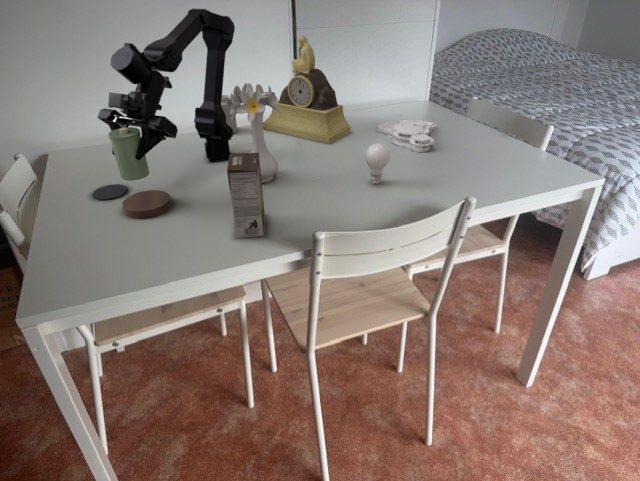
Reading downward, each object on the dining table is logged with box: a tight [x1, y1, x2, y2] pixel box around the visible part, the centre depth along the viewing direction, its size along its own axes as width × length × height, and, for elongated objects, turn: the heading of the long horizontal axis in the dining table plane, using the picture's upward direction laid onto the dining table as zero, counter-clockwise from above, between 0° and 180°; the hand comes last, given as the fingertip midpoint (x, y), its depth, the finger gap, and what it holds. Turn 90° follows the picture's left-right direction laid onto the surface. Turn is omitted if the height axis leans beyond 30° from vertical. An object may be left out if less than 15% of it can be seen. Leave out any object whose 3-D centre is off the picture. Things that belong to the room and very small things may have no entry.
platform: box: [122, 189, 172, 219], centre depth 110 cm, size 11×11×2 cm
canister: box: [107, 126, 150, 182], centre depth 103 cm, size 7×7×11 cm
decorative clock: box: [263, 34, 351, 145], centre depth 148 cm, size 28×13×30 cm, turn 55°
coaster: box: [92, 184, 128, 201], centre depth 117 cm, size 8×8×1 cm
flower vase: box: [227, 82, 282, 184], centre depth 117 cm, size 13×18×25 cm
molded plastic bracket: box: [375, 119, 437, 153], centre depth 149 cm, size 23×25×4 cm
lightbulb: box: [364, 142, 391, 185], centre depth 117 cm, size 6×6×11 cm
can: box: [221, 94, 238, 134], centre depth 153 cm, size 8×8×12 cm
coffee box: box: [226, 152, 266, 239], centre depth 97 cm, size 9×6×16 cm
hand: (125, 157), depth 103 cm, fingers closed on canister, 6 cm apart
